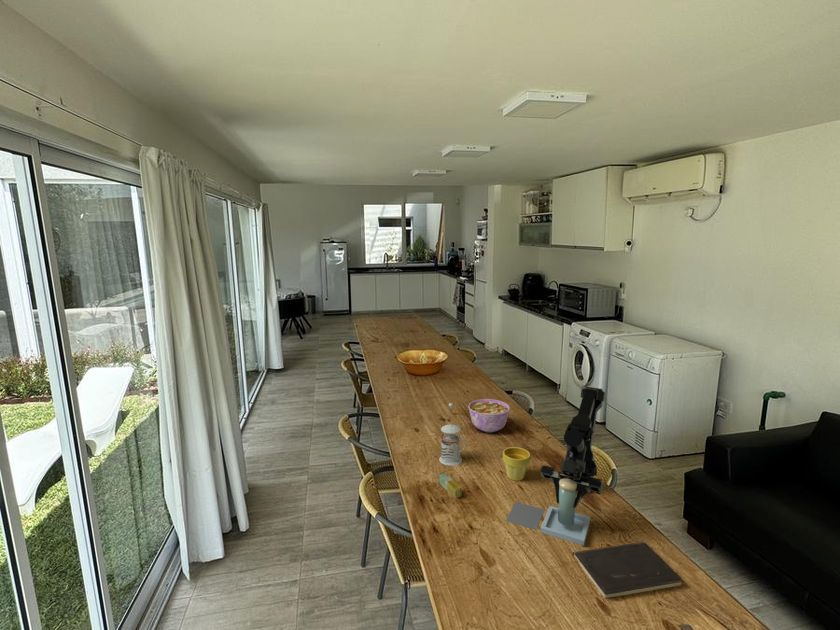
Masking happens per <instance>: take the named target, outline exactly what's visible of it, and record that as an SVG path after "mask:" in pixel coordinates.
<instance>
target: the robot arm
mask: <svg viewBox="0 0 840 630" xmlns="http://www.w3.org/2000/svg"><path fill="white" fill-rule="evenodd" d="M580 389H581V390H580V398H581V402H580V404H579V408H578V412H577V414H576V415H574V416H573V417H572V419H571V420H570V423H568V425H567V428H565V429H566V430H565V431H564V435H563V441H564V444H565V447H566V454H565V458H564V459H561V464H560V465H561V466H560V472H559V471H557V470H556V469H555V467H553V466H549V465H545V464H543V465H542V466H541V468H540V475H541V476H542V478H544V479H546V480H550V481H551V483H553V486H554V489H555V490H554V491H555V498H556V499H555V500H556V503H557V504H559V481H560V480H561V479H565V478H566V479H571V480H574V481H575V482H576V483H577V488H576V491H577V492H576V499H575V503H574V508H575V509H576V508H577V507H578V505H579V504H580V502H581V500H583V498H584V496H585V495H587V493H588V494H590V493H591V491H592V492H596V493H601V494H602V492H603V482H602V479H600V478H598V477H597V478H596V476H598V466H597V463H596V461H595V456H594V453H593V451H592V447H593V446H592V445H593V440H594V435H595V425H596V421H597V414H598V411H600V409H601V408H603V404H604V402H605V401H606V397H607V396H606V395H607V393H606V391H604V390H603V388H599V387H592V386H585V387H583V388H582V387H581V388H580Z"/></svg>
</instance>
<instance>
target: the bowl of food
mask: <svg viewBox="0 0 840 630" xmlns="http://www.w3.org/2000/svg"><path fill="white" fill-rule="evenodd" d="M468 411H469V417H470V419H471V423H472V424H473V426H474V427H475V428H476V429H478V430H480V431H482V432H485V433H495V432H497V431H500V430H501V429H503V428H505V425H506V423H507V421H508V417H509V413H510V411H511V407H510V405H509V404H508V403H506V402H504V401H502V400H498V399H492V398H490V399H489V398H482V399H475V400H473V401H471V402H469V404H468Z"/></svg>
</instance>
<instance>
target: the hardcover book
mask: <svg viewBox="0 0 840 630" xmlns="http://www.w3.org/2000/svg"><path fill="white" fill-rule="evenodd" d="M572 556H574V558H575V559H576V560H577V563H578V564H579V566H581V568H582V570H583V571H584V573H586V575H587V577H589V579H590V580H591V582H592V583H593V584H594V586H595V587H596V589H597V590H598V591H599V593H600V594H601V595H602V597H603V598H604V599H609V598H614V597H615V598H616V597H621V596H626V595H632V594H638V593H643V592H650V591H656V590H662V589H667V588H673V587H681V586H682V583H683V582H684V580H683V579H682V578H681V576H679V574H677V573H676V572H675V571H674V569H672V568H671V567H670V566H669V565H668V564H667V562H665V561H664V560H663V559H662V558H661V557H660V556H659V555H658V554H657V553H656V552H655V551H654V550H653V549H652V548H651V546H649V545H648V544H647V543H646V542H645V541H639V542H632V543H626V544H619V545H612V546H606V547H600V548H591V549H585V550H578V551H573V552H572Z"/></svg>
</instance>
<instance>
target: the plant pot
mask: <svg viewBox="0 0 840 630" xmlns="http://www.w3.org/2000/svg"><path fill="white" fill-rule="evenodd" d="M502 461H503V463H504V466H505V472H506V477H507V478H508V479H510V480H512V481H515V482H516V481H518V482H519V481H522V480H524V479H525V476H526V471H527V468H528V466H529V464H530V462H531V453H530V452H529V451H528V450H527V449H525V448H523V447H517V446H511V447H506V448H505V449H503V451H502Z"/></svg>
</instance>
